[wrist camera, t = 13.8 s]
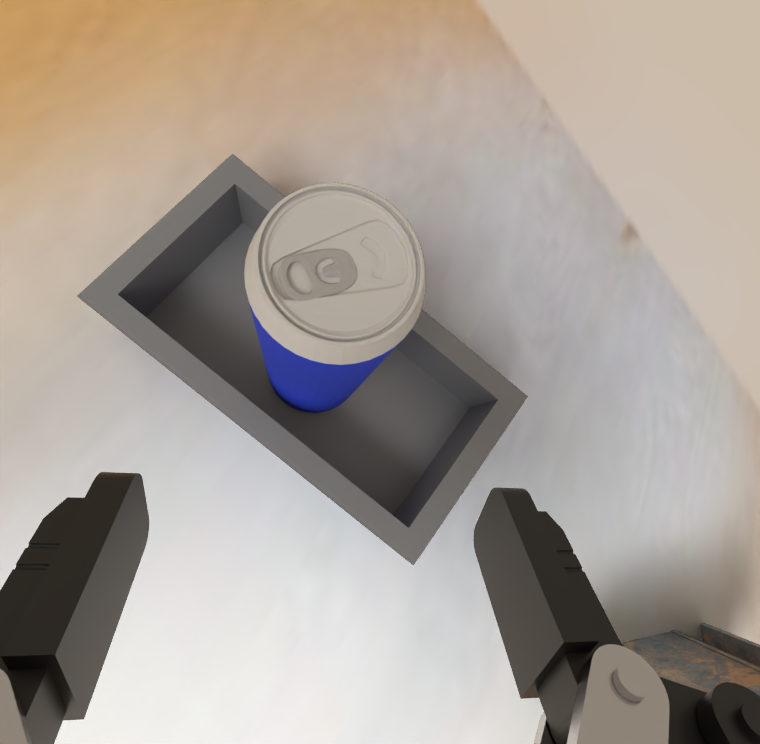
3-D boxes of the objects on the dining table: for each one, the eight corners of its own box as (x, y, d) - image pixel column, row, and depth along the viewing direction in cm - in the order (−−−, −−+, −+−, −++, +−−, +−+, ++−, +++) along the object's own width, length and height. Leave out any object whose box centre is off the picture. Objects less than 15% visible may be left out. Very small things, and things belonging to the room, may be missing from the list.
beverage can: (340, 315, 28) (396, 155, 13) (370, 396, 27) (463, 323, 12) (255, 341, 26) (213, 196, 12) (284, 426, 26) (278, 384, 11)
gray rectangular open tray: (116, 326, 26) (77, 296, 21) (242, 205, 29) (232, 153, 24) (391, 546, 27) (413, 565, 22) (488, 406, 29) (527, 396, 24)
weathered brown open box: (696, 613, 30) (883, 683, 20) (707, 664, 29) (903, 760, 20) (539, 648, 28) (667, 746, 18) (547, 704, 27) (684, 835, 18)
